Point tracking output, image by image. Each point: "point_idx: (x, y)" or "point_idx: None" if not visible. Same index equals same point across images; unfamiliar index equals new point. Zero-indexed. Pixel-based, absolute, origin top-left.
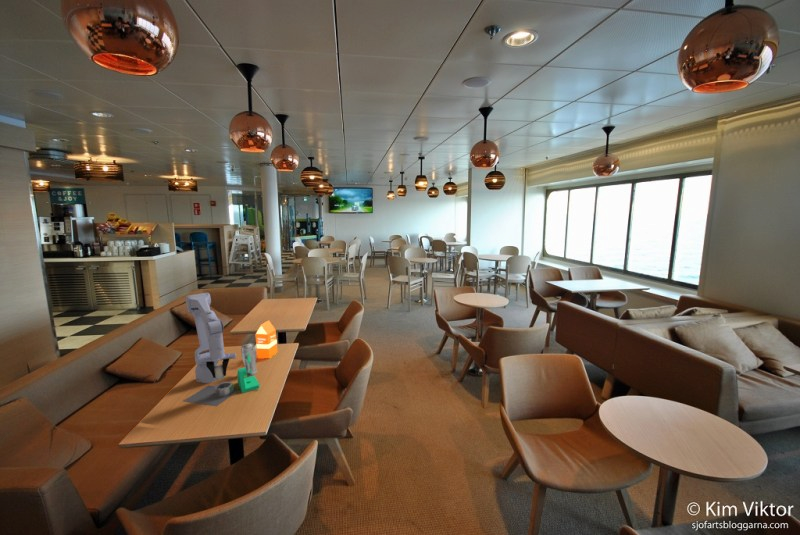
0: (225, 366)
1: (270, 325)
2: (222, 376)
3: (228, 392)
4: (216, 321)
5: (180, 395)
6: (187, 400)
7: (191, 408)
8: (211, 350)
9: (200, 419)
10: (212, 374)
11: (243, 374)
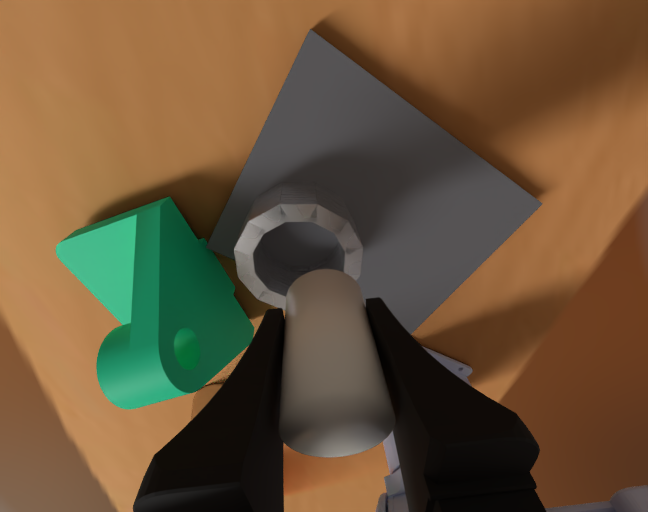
0: (224, 404)
1: None
2: (293, 302)
3: (259, 201)
4: None
5: (537, 286)
6: (515, 203)
7: (487, 106)
8: None
9: None
10: (395, 321)
11: (132, 329)
